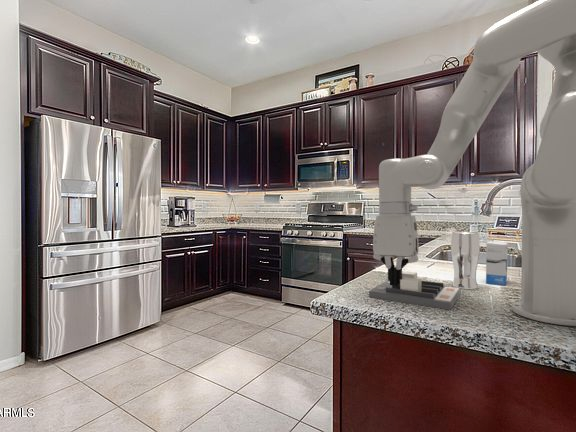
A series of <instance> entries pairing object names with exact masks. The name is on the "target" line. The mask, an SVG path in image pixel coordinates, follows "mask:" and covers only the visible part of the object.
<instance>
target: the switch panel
mask: <svg viewBox="0 0 576 432" xmlns="http://www.w3.org/2000/svg"><path fill="white" fill-rule="evenodd" d="M461 291H462V290H461V288H457V287H454V286H449V285H448V286H446V285H445V283H443V282H437V281H436V282H435V281H430V280H429V281H428V280H422V292H417V291H410V290H402V289H400V284H399V285H397V286H394V285H390V281H388V280H386V281H384V282H383V283H380V284H379V285H378V286H376V287H373V288H372V289H371V290H369V291H368V297H369V298H371V299H373V298H374V299H379V300H380V299H381V300H385V301H392V302H397V303H398V302H399V303H405V304H412V305H417V306H424V307H429V308H437V309H443V310H449V311H451V310H452V308H453V307H454V305H455V303H456V302H457V301H458V299H459V297H460V296H461V293H462V292H461Z"/></svg>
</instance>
